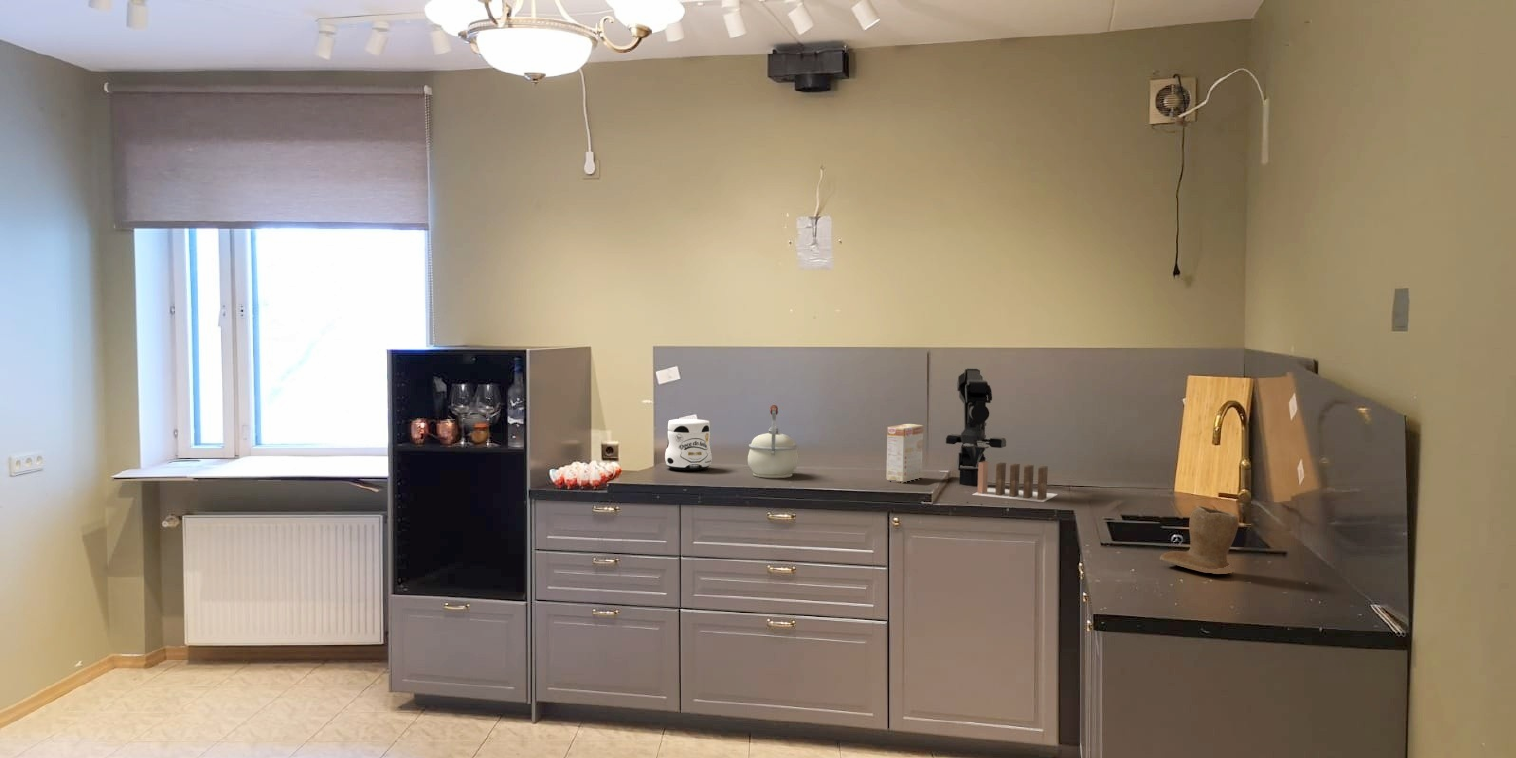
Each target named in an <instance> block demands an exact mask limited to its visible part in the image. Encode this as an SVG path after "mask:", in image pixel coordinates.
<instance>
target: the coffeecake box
mask: <svg viewBox="0 0 1516 758" xmlns="http://www.w3.org/2000/svg"><path fill="white" fill-rule="evenodd" d="M886 427H887V432H886V433H887V437H886V438H887V439H886V441H887V442H886V443H887V444H886V479H887V480H896V481H905V480H910V479H914V478H918V477H922V478H923V455H924V454H923V449H924V447H923V446H924V444H923V443H924V424H923V425H922V424H913V423H903V424H898V425H897V424H896V425H892V426H886Z"/></svg>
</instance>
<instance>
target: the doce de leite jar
mask: <svg viewBox="0 0 1516 758" xmlns="http://www.w3.org/2000/svg"><path fill="white" fill-rule="evenodd" d="M710 430H711V424H710V420H707V419H698V418H697V419H695V418H694V419H693V418H678V419H670V420H668V423H667V447H666V449H665V454H664V459H665V465H666V466H667V467H668V468H670V469H673V470H676V471H677V470H679V471H699V470H705V469H707V468H709V467H710V466H711V464H712V459H713V453H712V449H711V444H710V437H711V432H710Z"/></svg>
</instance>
